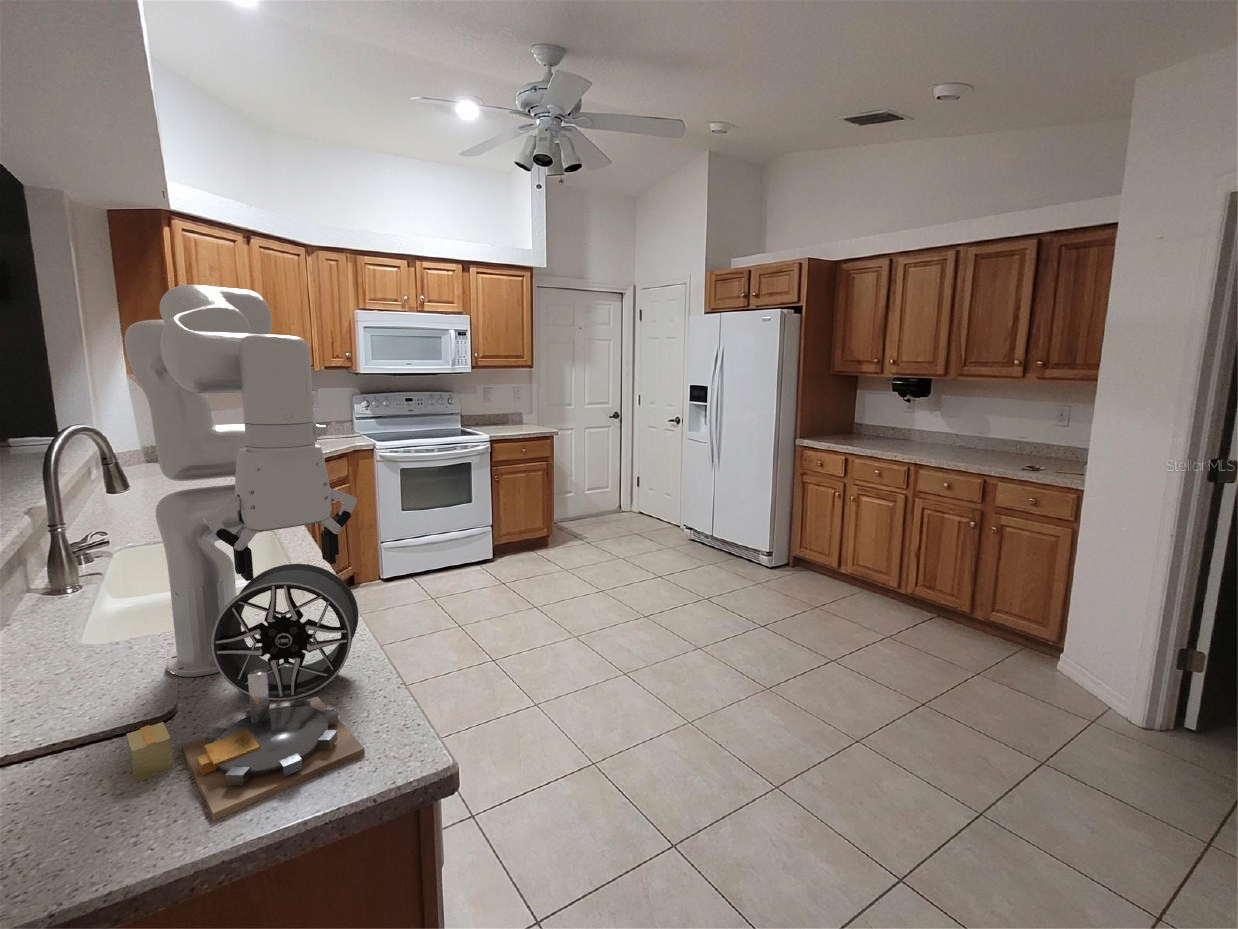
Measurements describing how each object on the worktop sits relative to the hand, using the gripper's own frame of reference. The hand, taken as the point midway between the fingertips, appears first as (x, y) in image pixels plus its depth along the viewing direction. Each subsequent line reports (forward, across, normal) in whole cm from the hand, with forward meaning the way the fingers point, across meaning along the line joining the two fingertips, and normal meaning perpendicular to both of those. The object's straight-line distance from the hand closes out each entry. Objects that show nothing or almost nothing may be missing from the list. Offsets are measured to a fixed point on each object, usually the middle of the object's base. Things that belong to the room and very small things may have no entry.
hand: (289, 569), depth 77 cm
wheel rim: (+28, -6, -23) cm, 37 cm away
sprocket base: (+28, +2, -6) cm, 28 cm away
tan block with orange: (+28, +15, -14) cm, 34 cm away
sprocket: (+26, +2, -6) cm, 27 cm away
